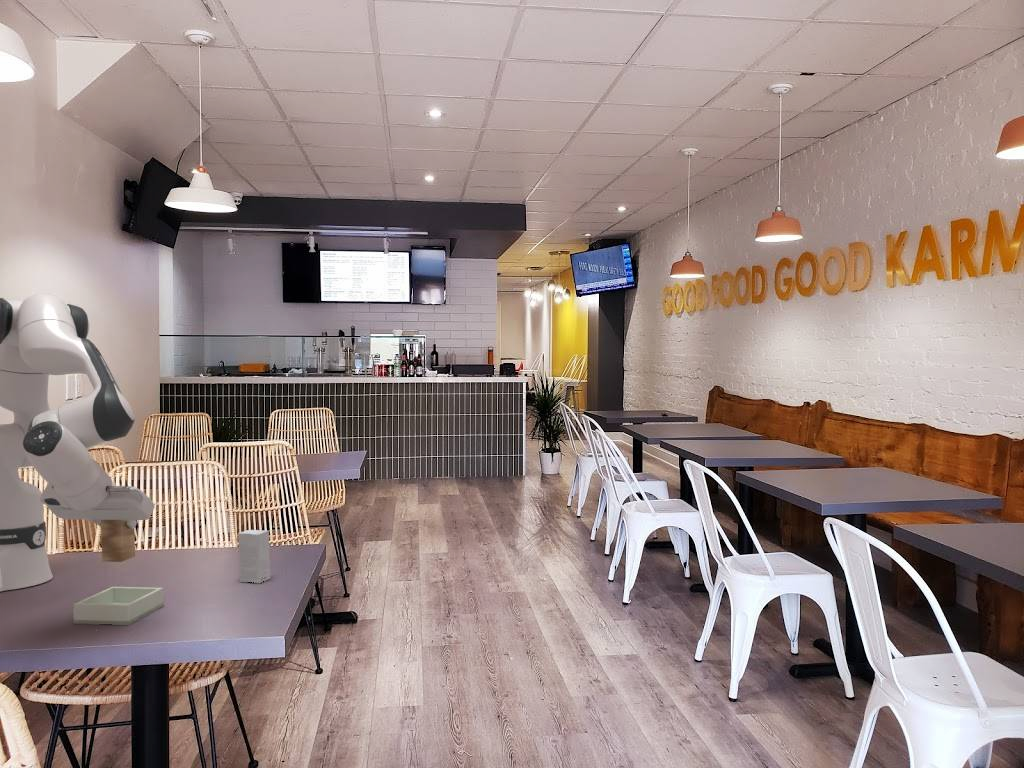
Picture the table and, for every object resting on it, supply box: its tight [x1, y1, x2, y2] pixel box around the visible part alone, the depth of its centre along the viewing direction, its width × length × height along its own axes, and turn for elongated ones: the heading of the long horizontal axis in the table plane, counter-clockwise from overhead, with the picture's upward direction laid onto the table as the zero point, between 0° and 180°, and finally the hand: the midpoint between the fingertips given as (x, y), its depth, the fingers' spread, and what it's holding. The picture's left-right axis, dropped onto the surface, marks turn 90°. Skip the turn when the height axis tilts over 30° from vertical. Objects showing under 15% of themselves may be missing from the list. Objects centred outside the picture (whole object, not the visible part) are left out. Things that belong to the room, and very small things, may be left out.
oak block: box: [100, 520, 136, 563], centre depth 155 cm, size 4×4×10 cm
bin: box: [73, 586, 165, 626], centre depth 156 cm, size 12×12×4 cm
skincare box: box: [237, 529, 271, 584], centre depth 179 cm, size 6×4×12 cm
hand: (119, 525), depth 156 cm, fingers closed on oak block, 4 cm apart
